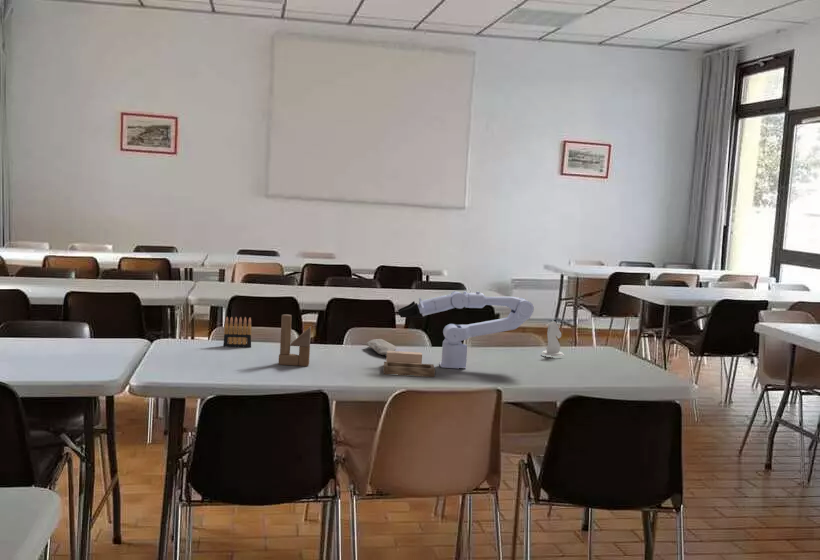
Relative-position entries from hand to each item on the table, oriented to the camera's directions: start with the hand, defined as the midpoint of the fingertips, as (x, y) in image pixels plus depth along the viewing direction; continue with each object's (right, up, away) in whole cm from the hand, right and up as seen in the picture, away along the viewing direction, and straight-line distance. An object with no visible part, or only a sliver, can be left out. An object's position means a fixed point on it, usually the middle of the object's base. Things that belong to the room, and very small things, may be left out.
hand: (399, 313), depth 303 cm
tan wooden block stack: (-38, -18, -11) cm, 43 cm away
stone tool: (-7, -17, +23) cm, 29 cm away
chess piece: (+64, -20, +38) cm, 77 cm away
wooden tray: (+4, -21, -12) cm, 24 cm away
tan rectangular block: (+2, -20, -2) cm, 20 cm away
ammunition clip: (-64, -14, +15) cm, 67 cm away
